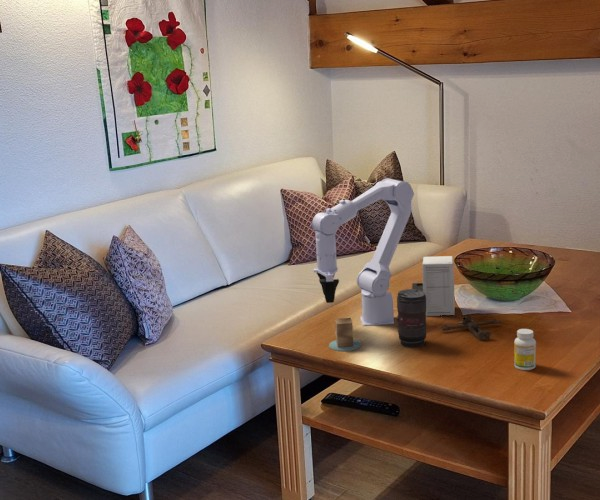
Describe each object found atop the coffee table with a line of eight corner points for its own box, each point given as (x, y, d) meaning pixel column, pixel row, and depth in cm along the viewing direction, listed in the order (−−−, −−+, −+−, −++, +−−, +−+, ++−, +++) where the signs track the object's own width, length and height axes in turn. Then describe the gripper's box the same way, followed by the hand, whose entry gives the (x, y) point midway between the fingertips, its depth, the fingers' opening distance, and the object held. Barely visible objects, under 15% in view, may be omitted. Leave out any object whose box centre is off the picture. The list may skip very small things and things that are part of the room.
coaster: (358, 339, 238) (358, 337, 238) (362, 350, 230) (362, 348, 229) (327, 341, 238) (327, 339, 238) (330, 352, 229) (330, 351, 229)
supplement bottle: (530, 372, 208) (530, 336, 206) (510, 367, 212) (510, 332, 209) (539, 365, 212) (539, 330, 210) (519, 361, 216) (520, 326, 213)
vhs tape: (412, 288, 285) (412, 283, 284) (435, 288, 283) (435, 282, 283) (411, 301, 271) (411, 295, 271) (436, 301, 270) (436, 295, 269)
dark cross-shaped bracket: (454, 335, 229) (436, 314, 243) (454, 349, 231) (435, 328, 244) (515, 327, 232) (493, 307, 246) (514, 341, 234) (493, 320, 247)
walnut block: (351, 341, 236) (350, 317, 234) (353, 346, 232) (352, 322, 230) (336, 342, 236) (335, 318, 234) (337, 347, 231) (336, 324, 230)
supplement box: (454, 306, 262) (453, 255, 258) (454, 316, 253) (454, 263, 249) (424, 306, 263) (422, 255, 259) (423, 316, 255) (421, 263, 250)
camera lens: (410, 351, 227) (409, 299, 223) (392, 343, 234) (390, 292, 230) (433, 344, 231) (432, 293, 227) (414, 336, 238) (413, 286, 234)
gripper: (310, 248, 247) (313, 292, 250) (314, 261, 233) (317, 306, 236) (334, 247, 247) (336, 290, 251) (339, 259, 233) (341, 305, 237)
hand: (328, 298), depth 243 cm, fingers open, 7 cm apart
